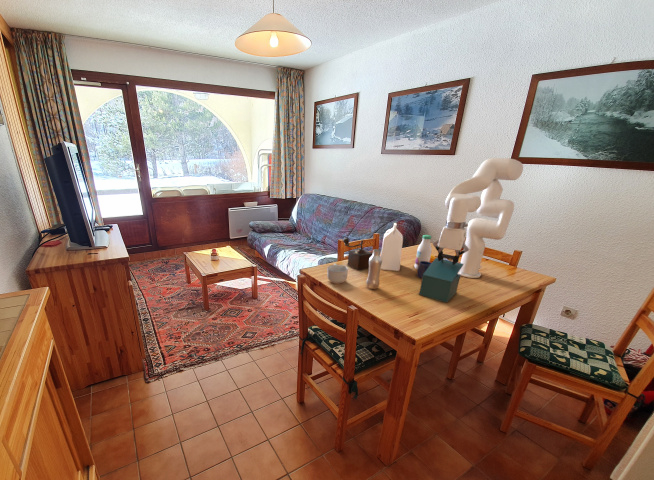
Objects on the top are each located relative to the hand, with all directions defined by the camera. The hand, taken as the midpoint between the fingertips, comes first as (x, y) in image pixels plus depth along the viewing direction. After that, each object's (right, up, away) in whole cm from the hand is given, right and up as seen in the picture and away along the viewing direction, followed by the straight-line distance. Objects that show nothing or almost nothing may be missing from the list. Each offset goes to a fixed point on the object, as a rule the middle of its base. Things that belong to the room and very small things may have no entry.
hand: (447, 261), depth 148 cm
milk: (-14, -1, +39) cm, 42 cm away
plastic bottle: (-33, -13, +10) cm, 37 cm away
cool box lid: (-3, -4, -1) cm, 5 cm away
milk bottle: (+4, -2, +37) cm, 37 cm away
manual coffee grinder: (-35, -1, +38) cm, 52 cm away
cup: (0, -7, +24) cm, 25 cm away
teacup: (-50, -9, +19) cm, 54 cm away
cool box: (-3, -16, +3) cm, 16 cm away
